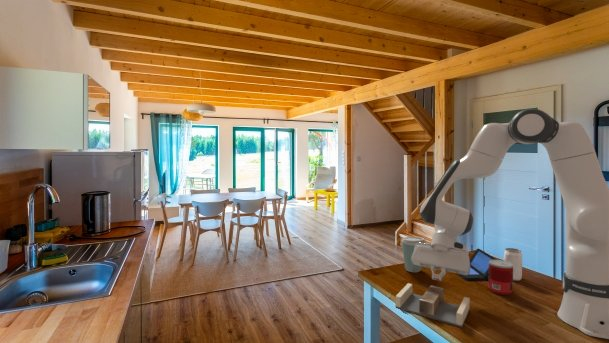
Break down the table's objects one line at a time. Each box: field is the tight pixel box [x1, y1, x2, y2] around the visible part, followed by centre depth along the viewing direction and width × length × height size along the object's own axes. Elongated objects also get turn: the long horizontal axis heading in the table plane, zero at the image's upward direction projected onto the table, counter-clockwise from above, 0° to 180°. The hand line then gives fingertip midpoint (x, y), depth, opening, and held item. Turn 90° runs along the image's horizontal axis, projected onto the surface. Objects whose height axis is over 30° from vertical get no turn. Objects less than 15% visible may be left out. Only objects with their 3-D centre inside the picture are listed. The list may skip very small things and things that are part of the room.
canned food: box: [487, 259, 514, 296], centre depth 120 cm, size 8×8×11 cm
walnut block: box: [419, 284, 444, 315], centre depth 109 cm, size 4×4×14 cm
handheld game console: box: [458, 248, 498, 281], centre depth 138 cm, size 16×13×9 cm
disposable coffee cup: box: [401, 236, 427, 273], centre depth 142 cm, size 11×11×15 cm
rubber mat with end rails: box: [395, 282, 471, 328], centre depth 107 cm, size 21×13×4 cm, turn 53°
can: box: [503, 247, 523, 281], centre depth 132 cm, size 6×6×12 cm
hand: (436, 279), depth 113 cm, fingers closed
